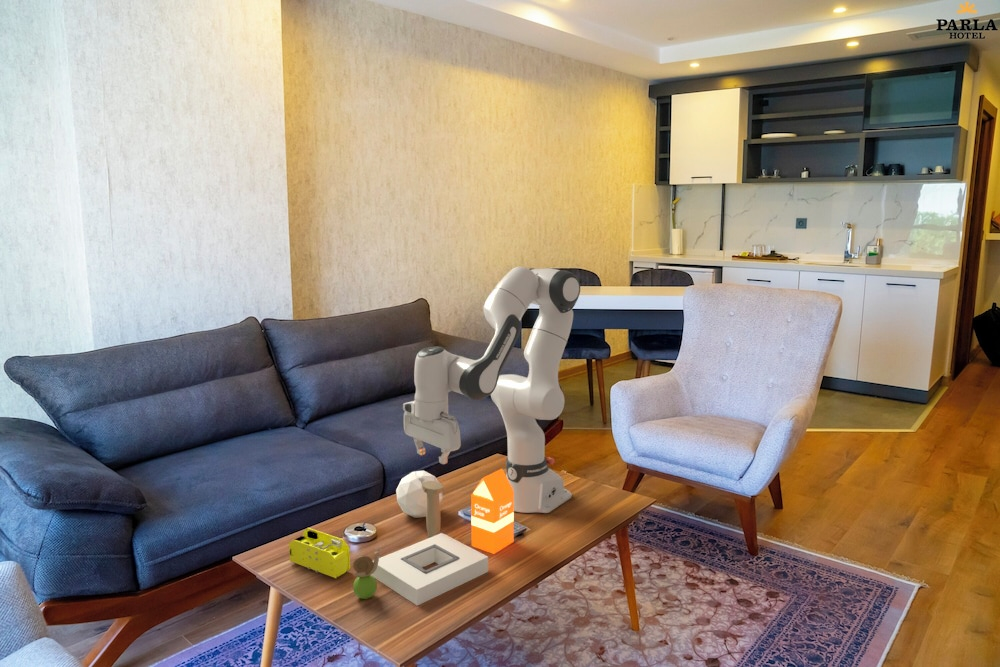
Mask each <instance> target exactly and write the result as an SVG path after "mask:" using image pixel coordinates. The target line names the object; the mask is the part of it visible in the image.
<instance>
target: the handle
mask: <svg viewBox="0 0 1000 667" xmlns="http://www.w3.org/2000/svg"><path fill="white" fill-rule="evenodd" d="M444 488H445V487H444V485H443V483H441V482H439V481H438V482H436V481H427V482H424V483H422V489H423V491H424V492H425V493H427V509H426V517H425V522H426V531H427V536H428V538H430V537H433V536H435V535H438V534H440V533H441V532H440V531H441V523H442V520H441V517H442V516H441V505H440V504H441V502H439V493H441V492H442V493H443V492H444V490H445V489H444Z"/></svg>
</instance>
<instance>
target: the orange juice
mask: <svg viewBox="0 0 1000 667" xmlns="http://www.w3.org/2000/svg"><path fill="white" fill-rule="evenodd" d="M470 495H471V496H470V497H471V498H470V500H471V501H470V502H471V505H470V508H471V510H470V511H471V512H470V513H471V516H470V518H471V519H470V520H471V522H470V523H471V524H470V526H471V546H472V547H474V548H476V549H479V550H481V551H484V552H487V553H491V554H493V555H495V554H496V553H498V552H500V551H501V550H503V549H505V548H506V547H508V546H509V545H511V544H512V543H514V542H515V540H514V538H515V537H514V534H515V533H514V530H515V528H514V527H515V525H514V522H515V520H514V519H515V516H514V515H515V514H514V513H515V511H514V491H513V489H512V487H511V485H510V483H509V481H508V479H507V477H506V473H505V471H504V469H503V468H500V469H498V470H496V471H494V472H492V473H490V474H488V475H486V476H484V477H482V478H481V480H480V481H479V483H478V485H477V486H476V487H475V489H474V491H473V492H472V494H470Z"/></svg>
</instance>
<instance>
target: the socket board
mask: <svg viewBox="0 0 1000 667" xmlns="http://www.w3.org/2000/svg"><path fill="white" fill-rule="evenodd" d="M439 533H440V534H438V535H435V536H433V537H430V538H429V537H428V538H425V539H424V540H421V541H418V542H415V543H413V544H411V545H408V546H406V547H403V548H400V549H398V550H396V551H393V552H391V553H389V554H386V555H384V556H382V557H381V556H380V557H379V562H378V566H377V569H376V570H375V572H374V573H372V574H371V576H373V577H374V578H375V580H376V581H378V582H380V583H382V584H383V585H384V586H386V587H388V588H389V589H391V590H393V591H394V592H395V593H397V594H398V595H399V596H402V597H403V598H404V599H406V600H407V601H409V602H411V603H412V604H414V605H415V606H419V605H422V604H424V603H426V602H429V601H430V600H432V599H434V598H436V597H438V596H441V595H443V594H444V593H446V592H448V591H451V590H453V589H455V588H457V587H459V586H462V585H464V584H465V583H468V582H470V581H472V580H474V579H476V578H478V577H481V576H482V575H484V574H487V573H489V556H487V555H486V554H484V553H482V552H480V551H478V550H476V549H474V548H472V547H470V546H468V545H466V544H465V543H463V542H460V541H459V540H457V539H455V538H452V537H451V536H450V535H447V534H445V533H443V532H439ZM372 561H373V562H374V560H372ZM433 563H435V564H437V565H435V566H432V567H430V568H428V569H425V568H424V567H427V566H429V565H431V564H433Z"/></svg>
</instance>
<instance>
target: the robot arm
mask: <svg viewBox="0 0 1000 667" xmlns="http://www.w3.org/2000/svg"><path fill="white" fill-rule="evenodd" d="M580 293H581V283H580V279H579V277H578V276H577V275H576V274H575V273H573V272H571V271H569V270H565V269H564V270H563V269H556V268H550V267H549V268H548V267H547V268H533V267H532V268H528V267H526V266H516V267H513V268H512V269H510V270H509V271H508V272H507V273H506V274H505V275H504V276H503V277H502V278H501V279H500V280H499V282H498V283H497V284H496V285H495V287H494V288H493V289H492V290H491V292H490V294H488V296H487V298H486V300H485V302H484V304H483V316H484V318H485V320H486V321H487V323H488V324H489V325H490V326H491V328H492V329H494V330H495V332H494V336H493V337H492V339H491V341H490V343H489V344H488V347H487V349H486V350H485V352H484V353H483V356H482V357H480V358H478V359H473V358H472V359H471V358H468V357H466V356H461V355H457V354H453V353H451V352H449V351H447V350H446V349H445V348H444V347H443V346H437V345H436V346H428V347H427V346H426V347H424V348H422V349H421V350H419V351H417V354H416V357H415V359H414V370H413V373H414V374H413V376H414V377H413V378H414V379H413V381H414V386H415V393H414V400H412V401H408V402H404V403H403V404H402V410H403V411H404V412H403V430H404V433H405V435H406V436H408V437H411V438H413V443H414V445H415V448H416V454H418V455H420V456H423V455H425V454H426V447H424V443H427V444H428V445H432V446H434V447H437V448H440V451H441V455H439V456H438V463H439V464H441V465H446V464H448V457H449V455H450V453H451V452H454V451H457V450H459V449H460V448H461V447H462V446H461V445H462V442H461V430H460V427H459V422H458V421H457V419H456V417H455V416H454V415H452V414H449V393H450V392H455V393H457V394H461V395H464V396H465V397H468V398H470V399H471V400H473V401H483V400H485V399H487V398H488V397H489V396H490V398H491V400H492V402H493V403H494V404H495V406H496V407H497V408H498V410H499V413H500V414H501V417H502V420H503V423H504V426H505V430H506V431H505V432H506V437H507V457H506V462H505V467H506V468H505V471H506V473H505V475H506V477H507V479H508V481H509V483H510V485H511V487H512V489H513V491H514V512H517V513H525V514H526V513H527V514H529V513H543V514H547V513H550V512H552V511H553V510H555V509H556V508H558V507H559V506H561V505H562V504H564V503H565V502H567V501H568V500H570V499H571V498H572V497H573V496H572V493H571V491H570V490H567V489H566V488H565V484H564V480H563V478H562V477H561V476H560V475H559V474H558V473H557V472H555V471H553V470H552V469H551V468H549V465H551V466H552V465H554V463H555V460H556V459H555V458H553V457H551V456H548V457H546V456H545V451H546V448H545V447H546V446H545V444H546V438H545V436H546V435H545V432H544V431H543V429H542V427H541V426H540V425H539V423H538V422H537V420H540V421H542V420H543V421H552V420H555V419H557V418H558V417H559V416H560V415H561V414H562V412H563V410H564V407H565V395H564V393H563V391H562V389H561V387H560V383H559V382H560V381H559V367H560V362H561V360H562V357H563V355H564V354H563V353H564V351H565V347H566V346H567V344H568V339H569V337H570V333H571V330H572V325H573V322H574V321H573V320H574V310H573V308H574V307H575V306H576V303H577V301H579V300H578V299H579V297H580ZM531 304H532V305H537V306H539V307H538V309H539V311H538V312H539V313H538V316H537V318H536V320H535V322H534V325H533V327H532V329H531V332H530V334H529V338H528V339H527V343H526V345H525V348H524V350H523V357H524V359H525V360H526V362H527V363H528V369H529V370H528V375H527V377H526V376H524V375H523V376H522V375H519V374H514V373H513V374H511V373H510V374H509V373H507V374H501V372H502V370H503V368H504V366H505V364H506V362H507V361H508V358H509V356H510V354H511V352H512V351H513V349H514V346H515V344H516V342H517V340H518V338H519V336H520V332H521V328H522V324H521V320H522V318H523V316H524V314H525V313H526V311H527V310H528V309H529V307H530V305H531Z"/></svg>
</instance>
